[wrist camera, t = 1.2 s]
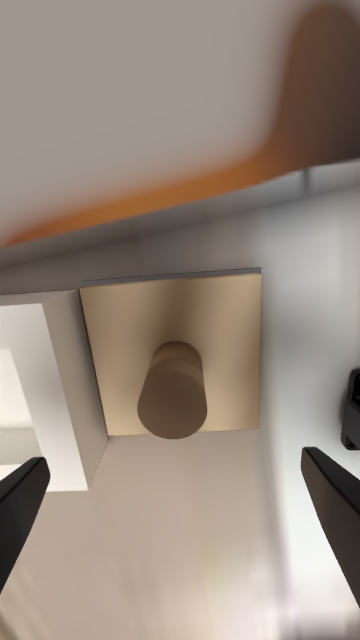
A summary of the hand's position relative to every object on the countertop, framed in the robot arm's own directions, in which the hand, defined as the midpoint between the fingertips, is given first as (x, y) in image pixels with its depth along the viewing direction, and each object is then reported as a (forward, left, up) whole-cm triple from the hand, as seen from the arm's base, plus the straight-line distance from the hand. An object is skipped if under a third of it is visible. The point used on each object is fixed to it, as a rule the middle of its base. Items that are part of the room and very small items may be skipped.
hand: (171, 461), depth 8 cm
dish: (+12, +1, -9) cm, 15 cm away
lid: (0, 0, -8) cm, 8 cm away
